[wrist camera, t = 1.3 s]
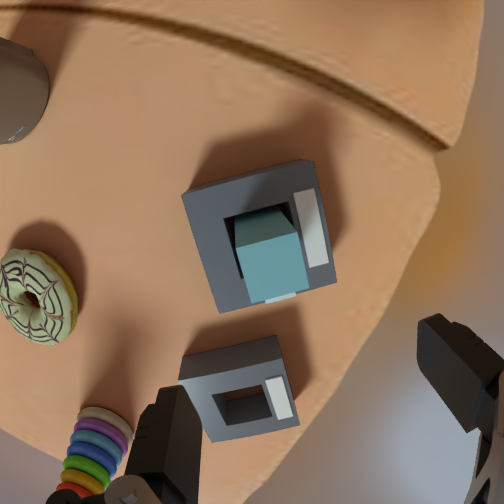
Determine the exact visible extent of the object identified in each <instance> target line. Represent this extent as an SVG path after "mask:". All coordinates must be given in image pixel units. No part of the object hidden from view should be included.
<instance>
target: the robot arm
mask: <svg viewBox="0 0 504 504" xmlns="http://www.w3.org/2000/svg"><path fill="white" fill-rule="evenodd" d="M48 93H49V80H48V74H47V71H46V69H45V67H44V66H43V64H42V63H41V62H40V61H39V60H37V59H36V58H34V56H33V51H32V49H29V48H27V47H25V46H22V45H20V44H17V43H15V42H12V41H10V40H7V39H4V38H2V37H0V145H1V144H9V143H15V142H17V141H19V140H22V139H23V138H24V137H26V136H27V135H28V134H29V133H30V132H31V131H32V130H33V129H34V127H35V126H36V124H37V123H38V122H39V120H40V118H41V116H42V114H43V112H44V109H45V106H46V103H47V99H48ZM417 336H418V337H417V362H418V366H419V368H420V370H421V372H422V373H423V374H424V376H425V377H426V378H427V380H428V381H429V382H430V384H431V385H432V386H433V388H434V389H435V390H436V392H437V393H438V394H439V396H440V397H441V398H442V400H443V401H444V403H445V404H446V405H447V407H448V408H449V409H450V411H451V412H452V414H453V415H454V416H455V418H456V419H457V420H458V422H459V423H460V425H461V426H462V427H463V429H464V430H465V432H466V433H468V432H470V431H472V430H473V429H475V428H477V427H478V428H479V430H480V431H481V433H480V436H479V442H478V449H477V455H476V461H475V467H474V472H473V477H472V482H471V485H470V489H469V491H468V494H467V496H466V499H465V501H464V504H504V359H502V358H501V357H500V356H499V355H498V354H497V353H496V352H495V351H494V350H493V349H492V348H491V347H490V346H488V345H487V344H486V343H484V341H483V340H482V339H481V338H480V337H478V336H476V334H475V333H474V332H473V331H472V330H471V329H470V328H468V327H467V326H465V325H462V324H459V323H457V322H453V323H450V322H449V321H448V320H447V319H446V318H445V317H444V316H443V315H441V314H440V313H437V314H435V315H433V316H430V317H427V318H425V319H422V320H420V321H419V322H418V333H417ZM134 437H135V439H134V440H133V443H132V447H131V451H130V454H129V458H128V462H127V466H126V470H125V473H124V476H121V477H118V478H116V479H115V480H113V481H112V482H111V483H110V484H109V485H108V487H107V489H106V491H105V493H101V494H96V495H92V496H87V497H81V496H80V495H79V494H77V493H76V492H75V491H74V490H71V489H60V490H57V491H55V492H54V493H53V494H51V495H50V497H49V498H48V499H47V501H46V504H198V491H199V474H200V459H201V445H202V423H201V419H200V416H199V414H198V412H197V410H196V408H195V407H194V405H193V403H192V401H191V399H190V397H189V395H188V393H187V391H186V389H185V387H184V386H183V385H176V386H170V387H163V388H160V389H159V391H158V395H157V398H156V402H155V404H149V405H148V406H147V407H146V409H145V410H144V411H143V413H142V414H141V415H140V419H139V422H138V426H137V430H136V433H135V436H134Z"/></svg>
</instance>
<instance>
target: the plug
mask: <svg viewBox="0 0 504 504" xmlns="http://www.w3.org/2000/svg"><path fill="white" fill-rule="evenodd" d="M234 220H235V245H236V251H237V255H238V258H239V262H240V265H241V269H242V272H243V276H244V279H245V282H246V286H247V289H248V293H249V296H250V300H251V303H256V302H260V301H263V300H265V302H266V304H268V303H272V302H276V301H280V300H283V299H287V298H291V297H294V296H296V293H295V292H297V291H301V290H304V289H308V288H309V284H308V279H307V274H306V270H305V265H304V260H303V255H302V251H301V246H300V242H299V237H298V233H297V231H296V230H295V228H294V227H293V226H292V225H291V223H290V222H289V221H288V220H287V218H286V217H285V216H284V215H283V213H282V212H281V211H280V210H279V209H278V207H277V206H276V205H272V206H268V207H264V208H260V209H256V210H253V211H249V212H245V213H241V214H238V215H234Z"/></svg>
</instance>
